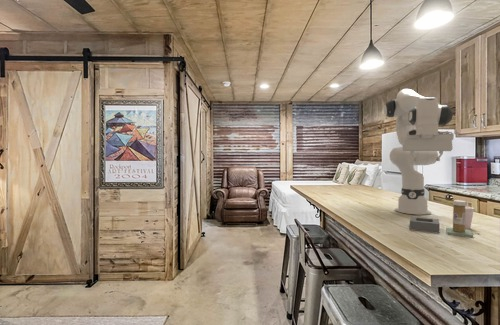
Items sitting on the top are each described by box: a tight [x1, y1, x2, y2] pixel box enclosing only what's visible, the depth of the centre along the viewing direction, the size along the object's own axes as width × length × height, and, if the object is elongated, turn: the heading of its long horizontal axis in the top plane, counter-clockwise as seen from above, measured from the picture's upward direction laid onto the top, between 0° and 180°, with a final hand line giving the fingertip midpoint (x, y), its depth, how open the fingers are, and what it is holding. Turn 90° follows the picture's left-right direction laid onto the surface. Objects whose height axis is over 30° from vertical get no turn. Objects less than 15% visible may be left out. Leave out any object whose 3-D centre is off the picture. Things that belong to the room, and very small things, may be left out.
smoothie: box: [465, 197, 475, 230], centre depth 135 cm, size 6×6×14 cm
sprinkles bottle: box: [452, 199, 467, 232], centre depth 126 cm, size 5×5×13 cm
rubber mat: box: [445, 227, 474, 238], centre depth 126 cm, size 9×9×1 cm
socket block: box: [409, 215, 441, 234], centre depth 134 cm, size 11×11×4 cm
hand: (425, 160), depth 136 cm, fingers open, 8 cm apart
